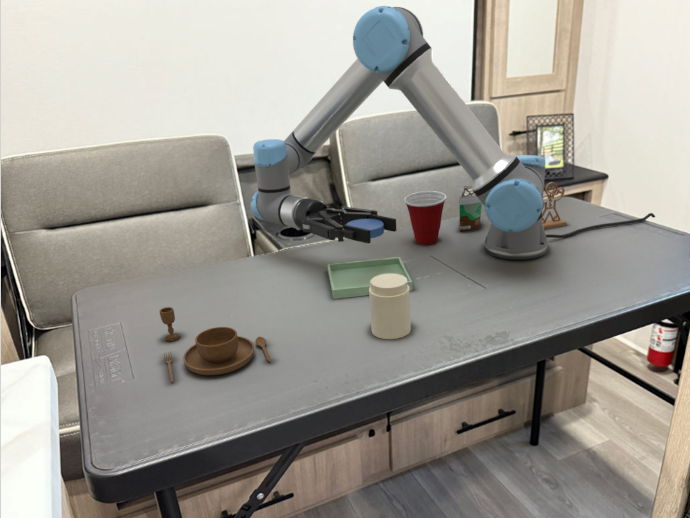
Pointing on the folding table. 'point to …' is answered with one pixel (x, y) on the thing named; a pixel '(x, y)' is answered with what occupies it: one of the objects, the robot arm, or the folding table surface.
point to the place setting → (213, 349)
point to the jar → (390, 306)
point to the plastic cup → (425, 215)
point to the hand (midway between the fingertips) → (382, 230)
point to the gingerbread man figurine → (553, 221)
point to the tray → (362, 275)
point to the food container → (469, 210)
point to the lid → (369, 226)
